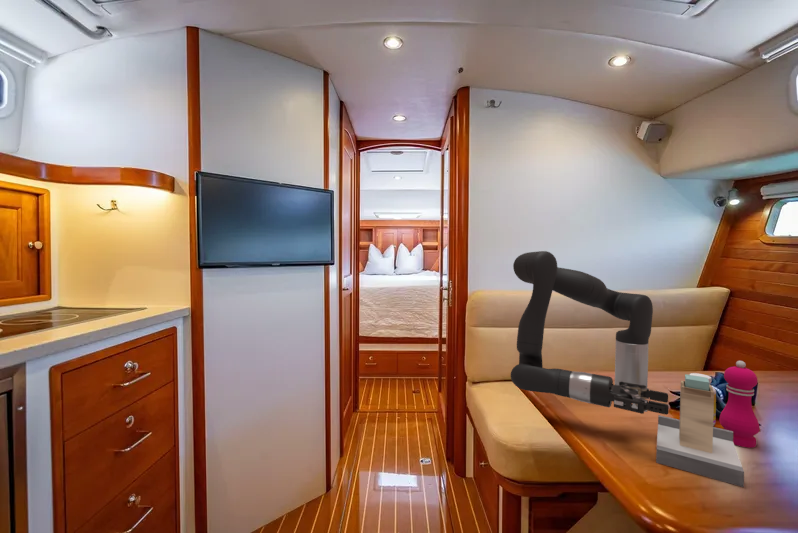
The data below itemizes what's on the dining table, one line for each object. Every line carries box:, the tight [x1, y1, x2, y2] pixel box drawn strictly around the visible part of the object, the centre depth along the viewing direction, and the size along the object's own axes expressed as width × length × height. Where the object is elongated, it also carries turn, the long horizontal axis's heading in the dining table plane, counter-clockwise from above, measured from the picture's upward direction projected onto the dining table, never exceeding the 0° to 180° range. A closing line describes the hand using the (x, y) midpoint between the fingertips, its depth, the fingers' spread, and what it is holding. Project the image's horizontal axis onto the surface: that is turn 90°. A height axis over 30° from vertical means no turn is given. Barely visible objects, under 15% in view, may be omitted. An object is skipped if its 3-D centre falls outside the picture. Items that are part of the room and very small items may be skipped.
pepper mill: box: [718, 360, 761, 449], centre depth 89 cm, size 7×7×20 cm
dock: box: [655, 414, 745, 488], centre depth 81 cm, size 16×14×5 cm
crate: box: [679, 380, 714, 453], centre depth 81 cm, size 6×6×13 cm
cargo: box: [684, 373, 709, 391], centre depth 81 cm, size 4×4×3 cm
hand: (668, 403), depth 84 cm, fingers open, 8 cm apart
